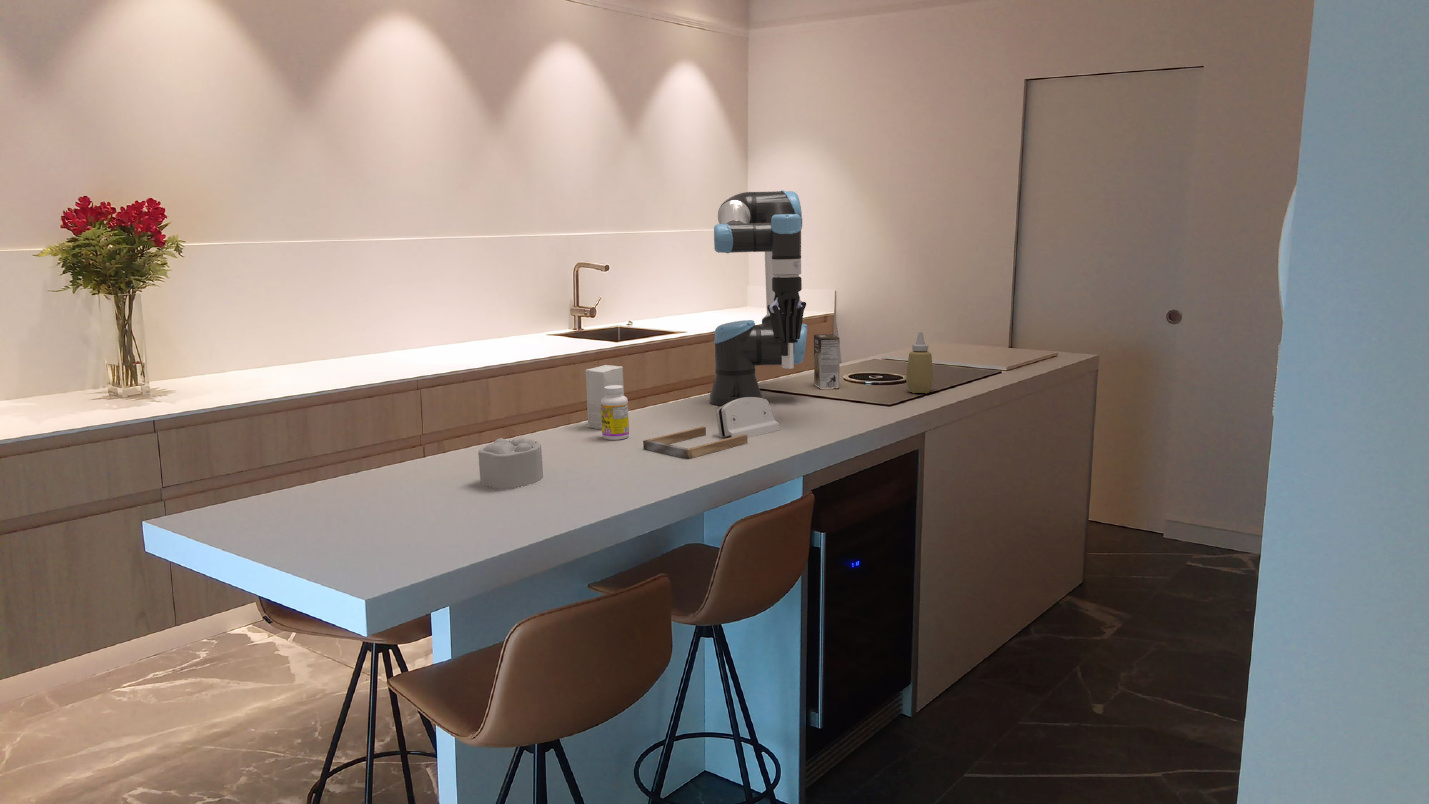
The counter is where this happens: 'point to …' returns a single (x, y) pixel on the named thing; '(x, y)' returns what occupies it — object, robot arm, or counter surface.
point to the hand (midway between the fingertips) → (787, 367)
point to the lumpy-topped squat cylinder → (510, 463)
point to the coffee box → (826, 360)
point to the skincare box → (600, 390)
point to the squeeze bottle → (919, 367)
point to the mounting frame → (663, 446)
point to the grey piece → (746, 418)
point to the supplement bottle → (614, 413)
